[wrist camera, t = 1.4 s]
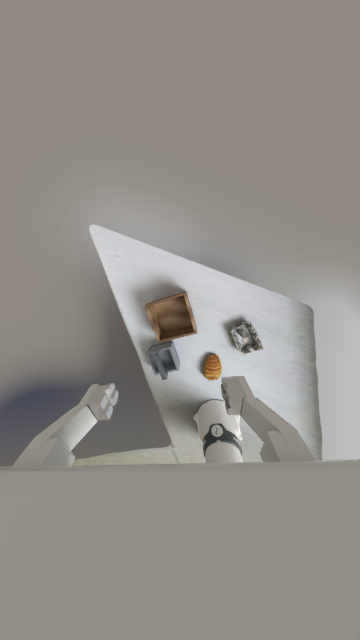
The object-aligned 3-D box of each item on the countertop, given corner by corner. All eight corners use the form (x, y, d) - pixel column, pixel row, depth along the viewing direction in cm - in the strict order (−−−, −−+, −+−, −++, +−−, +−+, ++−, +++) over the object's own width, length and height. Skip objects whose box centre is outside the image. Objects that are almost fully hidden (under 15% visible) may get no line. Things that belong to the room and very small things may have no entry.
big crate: (196, 326, 48) (196, 333, 41) (163, 335, 50) (158, 342, 43) (186, 291, 45) (185, 292, 38) (151, 302, 47) (144, 304, 40)
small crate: (179, 362, 52) (177, 376, 44) (158, 367, 54) (151, 382, 45) (172, 341, 50) (168, 352, 42) (150, 346, 52) (142, 358, 43)
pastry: (203, 352, 50) (204, 358, 47) (222, 353, 50) (224, 358, 46) (202, 374, 53) (203, 381, 49) (220, 375, 52) (222, 382, 49)
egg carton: (258, 344, 48) (264, 350, 44) (237, 352, 49) (241, 358, 45) (248, 318, 46) (254, 321, 42) (227, 326, 47) (230, 330, 43)
